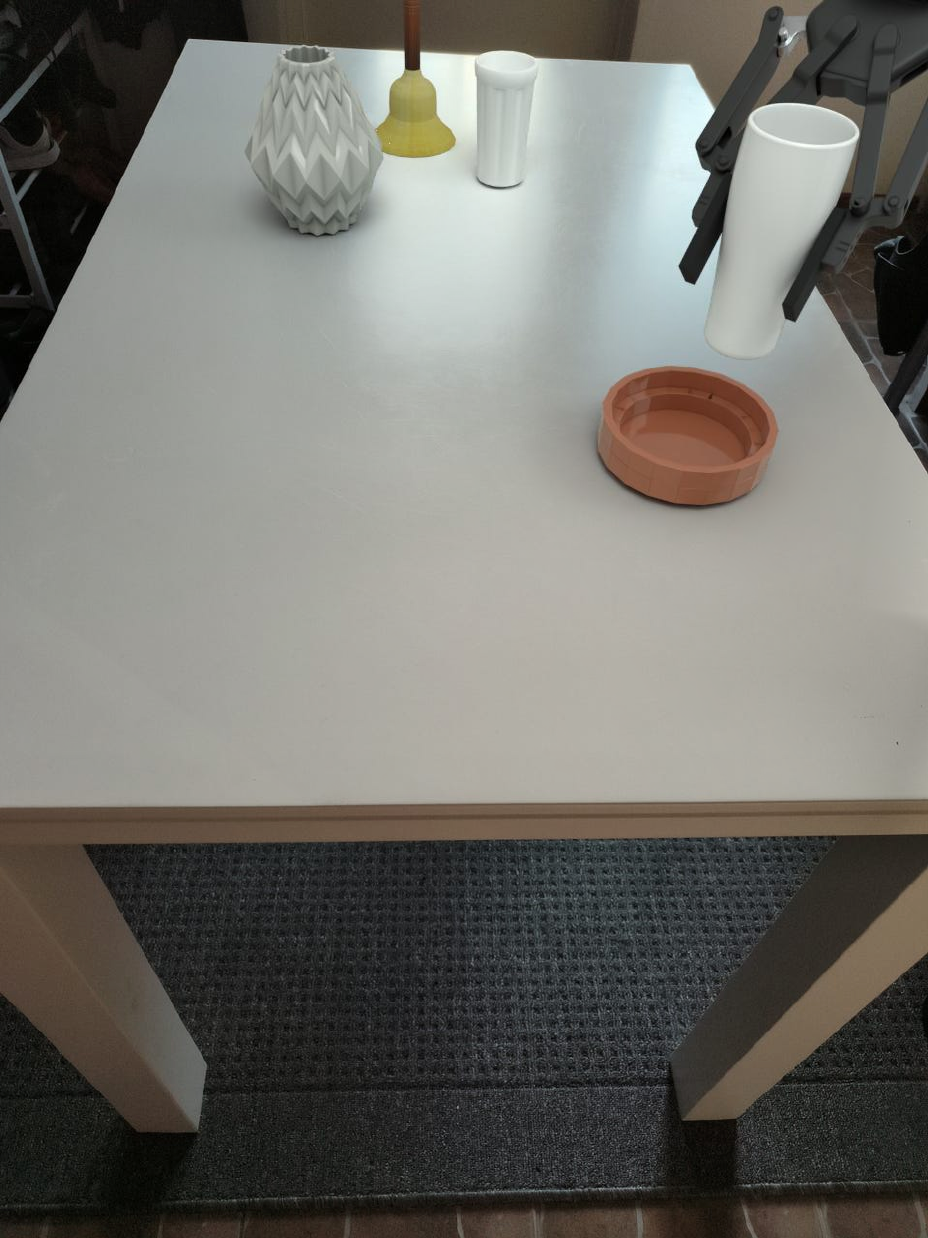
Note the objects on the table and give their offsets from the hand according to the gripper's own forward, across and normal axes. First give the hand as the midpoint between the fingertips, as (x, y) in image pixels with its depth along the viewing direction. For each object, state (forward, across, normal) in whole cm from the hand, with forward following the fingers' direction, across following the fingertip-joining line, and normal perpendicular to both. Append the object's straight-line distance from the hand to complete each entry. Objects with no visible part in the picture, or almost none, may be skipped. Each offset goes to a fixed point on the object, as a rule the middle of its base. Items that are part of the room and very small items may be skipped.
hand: (736, 293), depth 59 cm
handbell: (-19, +69, -52) cm, 88 cm away
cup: (-17, +52, -50) cm, 74 cm away
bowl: (+9, +4, -24) cm, 25 cm away
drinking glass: (+2, 0, -6) cm, 7 cm away
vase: (0, +62, -33) cm, 70 cm away
